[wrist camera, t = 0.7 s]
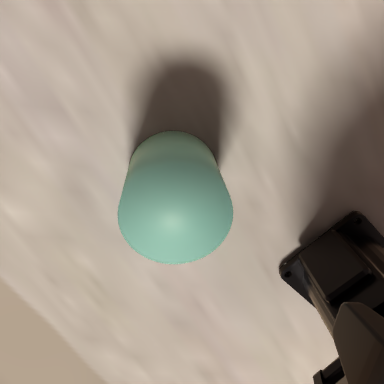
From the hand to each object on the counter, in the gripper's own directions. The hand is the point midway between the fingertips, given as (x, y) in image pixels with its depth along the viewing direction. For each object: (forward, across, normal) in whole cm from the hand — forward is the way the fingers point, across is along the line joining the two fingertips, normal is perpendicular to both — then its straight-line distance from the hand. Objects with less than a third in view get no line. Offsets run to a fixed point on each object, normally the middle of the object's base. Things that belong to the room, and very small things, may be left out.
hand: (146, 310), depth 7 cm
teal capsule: (+12, -1, +1) cm, 12 cm away
